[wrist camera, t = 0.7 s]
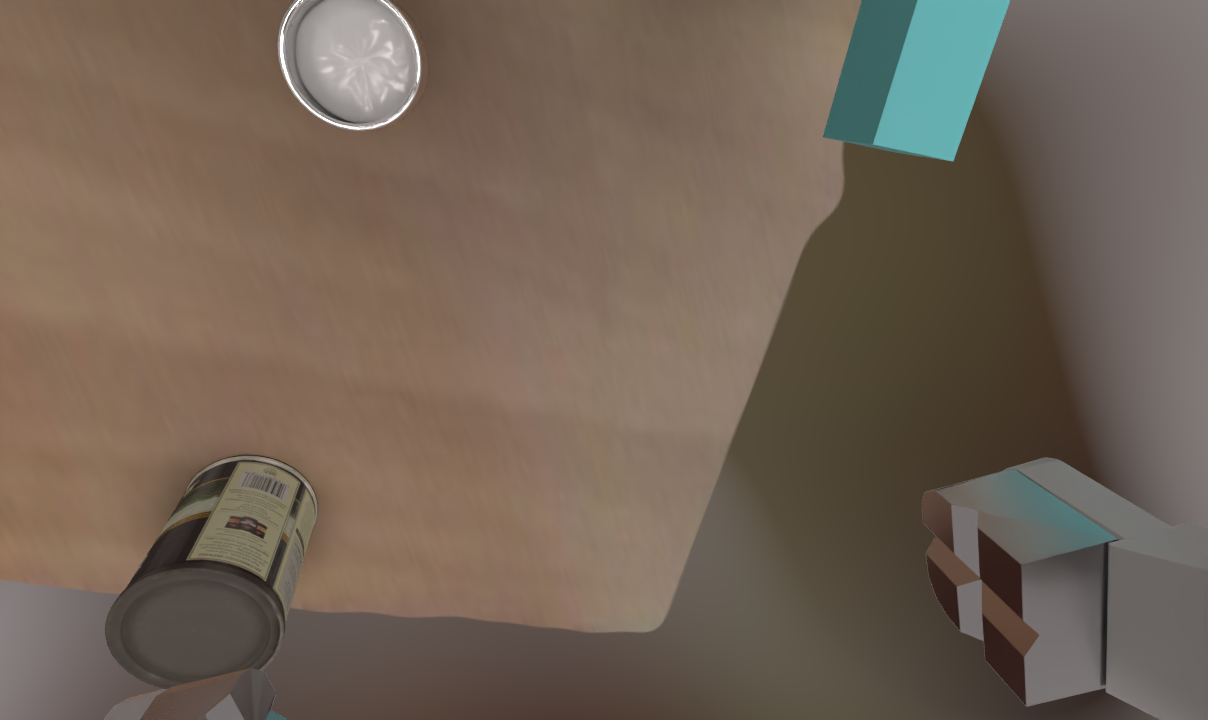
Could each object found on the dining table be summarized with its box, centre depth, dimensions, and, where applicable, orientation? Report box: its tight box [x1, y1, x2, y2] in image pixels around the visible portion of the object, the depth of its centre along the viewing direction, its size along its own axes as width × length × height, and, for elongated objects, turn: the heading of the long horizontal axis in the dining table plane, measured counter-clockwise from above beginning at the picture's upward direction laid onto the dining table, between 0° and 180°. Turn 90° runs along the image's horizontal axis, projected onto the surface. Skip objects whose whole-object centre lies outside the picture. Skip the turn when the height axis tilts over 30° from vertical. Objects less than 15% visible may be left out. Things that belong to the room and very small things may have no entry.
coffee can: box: [105, 456, 318, 689], centre depth 49 cm, size 10×10×14 cm
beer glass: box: [277, 0, 428, 131], centre depth 39 cm, size 7×7×15 cm
